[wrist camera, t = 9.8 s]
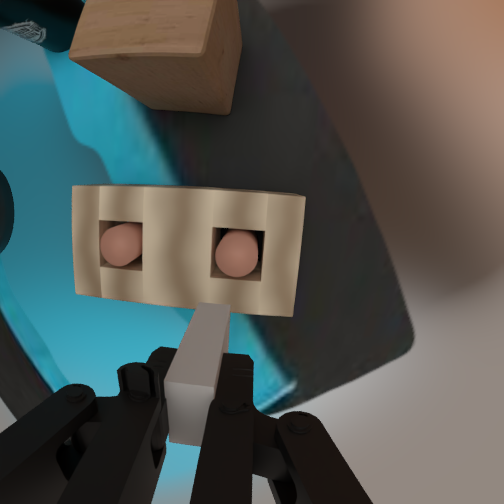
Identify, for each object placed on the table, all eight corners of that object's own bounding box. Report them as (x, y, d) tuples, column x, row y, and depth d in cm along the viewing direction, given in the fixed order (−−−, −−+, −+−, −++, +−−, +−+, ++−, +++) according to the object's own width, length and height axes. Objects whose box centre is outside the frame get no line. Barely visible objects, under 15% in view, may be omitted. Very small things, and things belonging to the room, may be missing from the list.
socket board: (104, 274, 40) (75, 293, 33) (104, 183, 38) (72, 185, 30) (286, 291, 40) (292, 316, 33) (295, 193, 38) (305, 197, 30)
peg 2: (222, 256, 39) (214, 275, 31) (224, 222, 38) (216, 233, 30) (256, 258, 39) (256, 278, 31) (259, 225, 38) (259, 237, 30)
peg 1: (128, 248, 39) (100, 264, 31) (128, 216, 38) (100, 225, 30) (158, 250, 39) (135, 268, 31) (159, 218, 38) (135, 228, 30)
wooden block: (230, 116, 36) (202, 54, 16) (150, 110, 36) (64, 59, 16) (243, 43, 34) (231, -57, 14) (165, 39, 34) (104, -47, 14)
